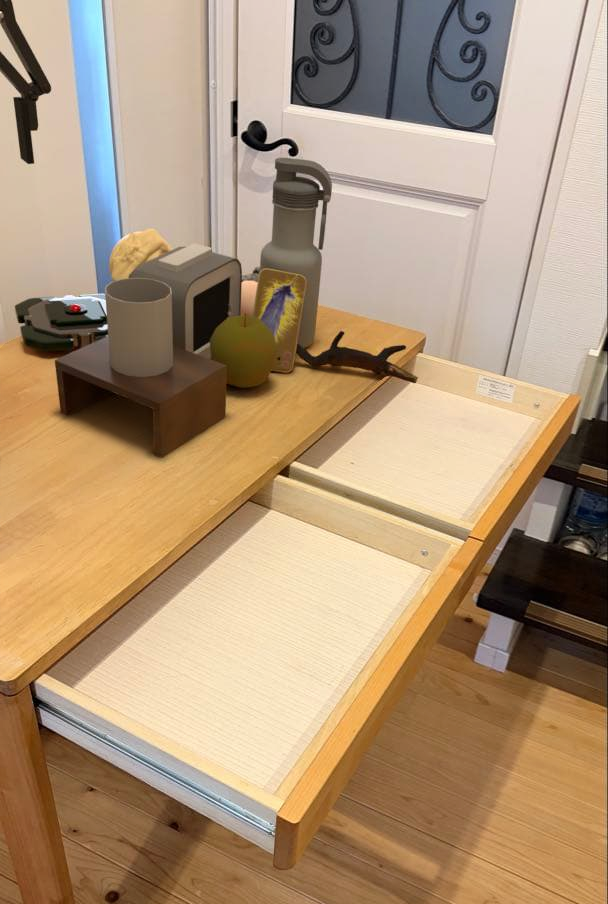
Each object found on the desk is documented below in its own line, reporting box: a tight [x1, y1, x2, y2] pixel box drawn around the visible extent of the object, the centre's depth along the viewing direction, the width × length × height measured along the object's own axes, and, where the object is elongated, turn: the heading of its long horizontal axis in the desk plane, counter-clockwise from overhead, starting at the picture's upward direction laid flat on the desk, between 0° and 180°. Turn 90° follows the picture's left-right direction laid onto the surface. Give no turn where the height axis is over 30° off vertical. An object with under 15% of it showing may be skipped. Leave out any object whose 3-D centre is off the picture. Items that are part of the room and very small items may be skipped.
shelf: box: [54, 337, 227, 458], centre depth 112 cm, size 14×18×8 cm
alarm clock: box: [129, 242, 243, 359], centre depth 127 cm, size 16×11×16 cm
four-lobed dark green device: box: [14, 293, 108, 352], centre depth 133 cm, size 18×18×5 cm
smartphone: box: [253, 268, 306, 374], centre depth 127 cm, size 8×15×1 cm
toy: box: [295, 330, 419, 384], centre depth 129 cm, size 23×7×5 cm
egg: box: [240, 281, 258, 317], centre depth 141 cm, size 7×7×8 cm
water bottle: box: [259, 157, 333, 349], centre depth 129 cm, size 10×10×28 cm
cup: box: [104, 278, 173, 377], centre depth 107 cm, size 8×8×10 cm
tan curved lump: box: [108, 228, 173, 282], centre depth 143 cm, size 11×12×11 cm
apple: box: [210, 314, 278, 389], centre depth 121 cm, size 10×10×11 cm
